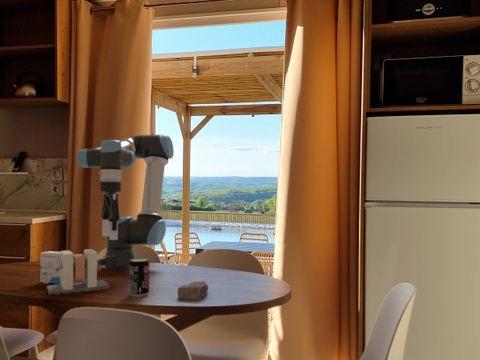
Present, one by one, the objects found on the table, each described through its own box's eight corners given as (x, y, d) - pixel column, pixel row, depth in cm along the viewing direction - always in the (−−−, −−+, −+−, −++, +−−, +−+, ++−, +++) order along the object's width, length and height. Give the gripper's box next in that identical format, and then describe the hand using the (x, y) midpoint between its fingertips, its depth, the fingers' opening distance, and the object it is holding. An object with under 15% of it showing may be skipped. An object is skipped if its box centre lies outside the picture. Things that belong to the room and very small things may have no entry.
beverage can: (148, 292, 148) (149, 257, 148) (149, 297, 141) (149, 261, 142) (129, 293, 146) (129, 258, 147) (128, 298, 140) (128, 261, 140)
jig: (104, 283, 162) (104, 248, 162) (109, 288, 153) (109, 251, 153) (46, 289, 152) (47, 251, 152) (49, 295, 143) (49, 255, 144)
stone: (184, 291, 150) (185, 278, 150) (209, 293, 148) (209, 279, 148) (175, 300, 138) (175, 286, 138) (202, 301, 137) (202, 287, 137)
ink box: (66, 282, 164) (67, 251, 164) (57, 284, 159) (57, 253, 160) (49, 280, 167) (49, 250, 167) (39, 283, 162) (39, 252, 163)
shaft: (113, 265, 161) (114, 255, 161) (116, 267, 157) (116, 256, 157) (60, 270, 152) (60, 258, 152) (61, 271, 148) (61, 260, 148)
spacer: (81, 275, 157) (81, 253, 157) (84, 279, 150) (84, 256, 150) (72, 276, 155) (72, 254, 156) (75, 280, 148) (75, 257, 149)
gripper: (94, 182, 168) (93, 235, 167) (107, 180, 146) (105, 241, 145) (113, 182, 171) (112, 234, 171) (128, 180, 150) (127, 240, 149)
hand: (109, 238), depth 158 cm, fingers open, 13 cm apart
